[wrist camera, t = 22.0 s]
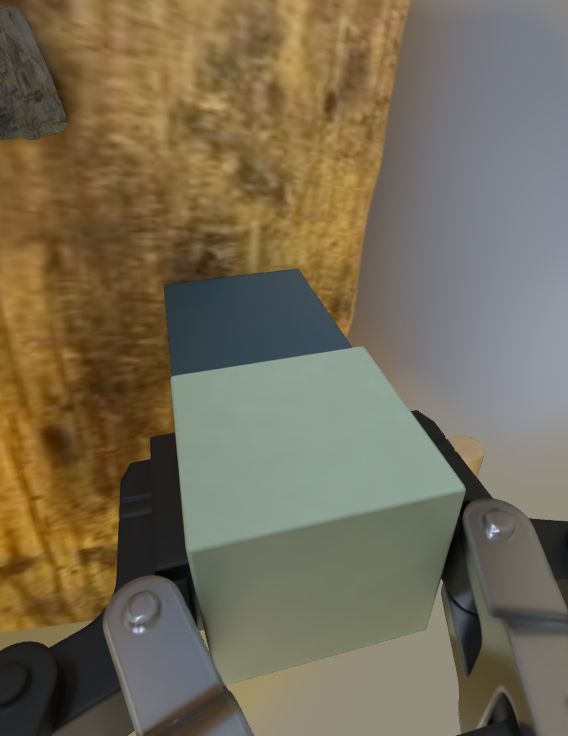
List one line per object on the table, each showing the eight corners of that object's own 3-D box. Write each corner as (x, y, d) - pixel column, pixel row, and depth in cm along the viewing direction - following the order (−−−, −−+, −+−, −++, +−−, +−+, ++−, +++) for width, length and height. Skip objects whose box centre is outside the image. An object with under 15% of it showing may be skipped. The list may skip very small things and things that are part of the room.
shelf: (211, 622, 26) (460, 559, 29) (179, 467, 20) (507, 405, 22) (186, 413, 41) (353, 385, 44) (163, 284, 34) (362, 260, 37)
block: (169, 374, 11) (185, 551, 7) (364, 344, 12) (468, 487, 8) (196, 509, 13) (217, 689, 10) (352, 476, 14) (428, 631, 10)
